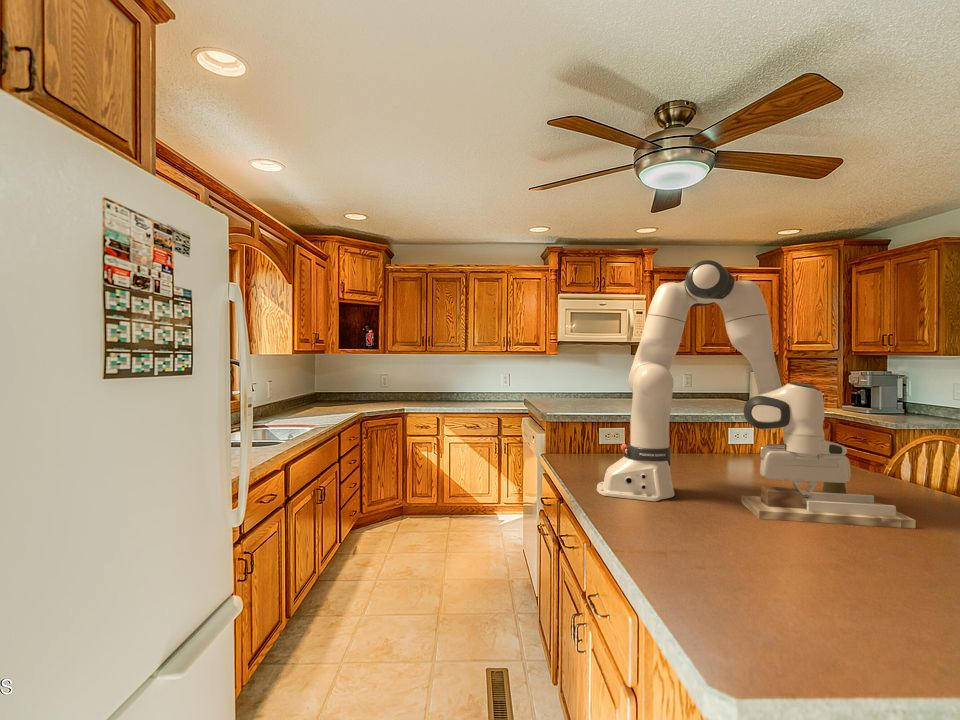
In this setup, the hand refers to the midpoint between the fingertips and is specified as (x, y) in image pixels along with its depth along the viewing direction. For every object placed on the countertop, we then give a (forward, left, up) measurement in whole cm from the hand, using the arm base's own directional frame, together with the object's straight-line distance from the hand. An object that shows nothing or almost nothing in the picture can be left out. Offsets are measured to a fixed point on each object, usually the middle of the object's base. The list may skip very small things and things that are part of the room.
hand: (804, 497), depth 127 cm
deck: (+4, 0, -4) cm, 6 cm away
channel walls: (+8, 0, -2) cm, 9 cm away
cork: (+16, +20, -4) cm, 26 cm away
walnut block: (-6, 0, -2) cm, 6 cm away
